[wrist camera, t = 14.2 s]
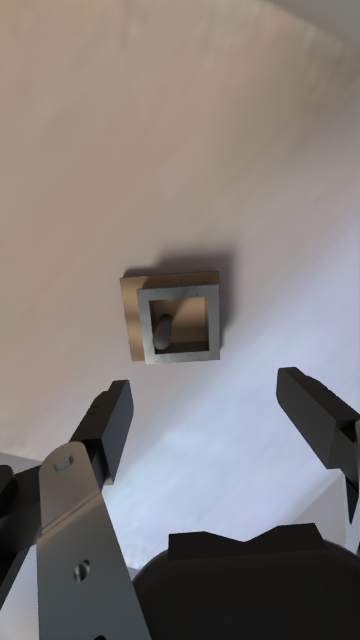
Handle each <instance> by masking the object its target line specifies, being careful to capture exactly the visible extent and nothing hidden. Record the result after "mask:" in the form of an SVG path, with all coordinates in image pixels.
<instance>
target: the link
mask: <svg viewBox="0 0 360 640" xmlns="http://www.w3.org/2000/svg"><path fill="white" fill-rule="evenodd" d="M136 293H137V301H138V309H139V316H140V324H141V331H142V339H143V347H144V354H145V362H146V364H161V363H177V362H192V361H208V360H220V329H219V284H217V283H214V282H208V283H194V284H180V285H166V286H152V287H141V288H139V289H137V290H136ZM193 297H204V304H205V333H206V341H195V342H180V343H169V345H168V346H167V347H166V348H165V349H157V348H156V347H155V346H154V345H153V342H152V339H153V336H154V333H155V331H156V323H155V313H154V304H153V300H164V299H179V298H193Z"/></svg>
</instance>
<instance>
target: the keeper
mask: <svg viewBox="0 0 360 640" xmlns="http://www.w3.org/2000/svg"><path fill="white" fill-rule="evenodd" d="M208 282H214V283H217V284H219V271H208V272H194V273H180V274H165V275H151V276H137V277H123V278H120V285H121V291H122V298H123V305H124V311H125V318H126V325H127V331H128V338H129V344H130V351H131V358H132V361H145V354H144V347H143V339H142V331H141V324H140V316H139V309H138V301H137V293H136V290H137V289H139V288H141V287H152V286H166V285H180V284H194V283H208ZM153 304H154V313H155V323H156V331H155V333H154V336H153V339H152V342H153V345H154V346H155V347H156V348H157V349H165V348H166V347H167V346H168V345H169V343H180V342H195V341H206V333H205V304H204V297H193V298H179V299H164V300H153Z"/></svg>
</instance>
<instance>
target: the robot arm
mask: <svg viewBox="0 0 360 640" xmlns="http://www.w3.org/2000/svg"><path fill="white" fill-rule="evenodd" d="M276 396H277V400H278V403H279V405H280V406H281V408H282V409H283V410H284V412H285V413H286V414H287V416H288V417H289V418H290V420H291V421H292V423H293V424H294V425H295V427H296V428H297V429H298V431H299V432H300V433H301V435H302V436H303V437H304V439H305V440H306V442H307V443H308V444H309V446H310V447H311V448H312V450H313V451H314V452H315V454H316V455H317V457H318V458H319V459H320V461H321V462H322V463H323V465H324V466H325V467H326V469H337V468H340V469H341V471H342V472H343V473H344V475H343V493H344V507H345V521H346V546H345V548H343V547H342V546H340V545H338V544H335V543H333V542H330V541H328V540H325V539H323V538H322V536H321V534H320V533H319V531H318V529H317V527H316V525H315V523H307V524H295V525H281V526H277V527H275V528H273V529H271V530H269V531H267V532H265V533H263V534H261V535H259V536H257V537H255V538H253V539H251V540H249V541H246V542H242V541H238V540H234V539H230V538H227V537H223V536H220V535H216V534H212V533H209V532H205V531H202V532H189V533H176V534H169V543H168V549H167V550H165V551H163V552H161V553H160V554H158V555H157V556H155V557H154V558H153V559H151V560H150V561H149V562H148V563H147V564H146V565H145V566H144V567H143V568H142V569H141V570H140V572H139V573H138V574H137V575H136V576H135V578H134V579H133V581H131V578H130V576H129V572H128V569H127V566H126V563H125V561H124V558H123V555H122V552H121V549H120V546H119V543H118V540H117V537H116V534H115V531H114V528H113V525H112V522H111V519H110V516H109V514H108V511H107V508H106V505H105V502H104V499H103V496H102V493H101V491H102V488H103V485H113V483H114V480H115V476H116V473H117V469H118V466H119V462H120V459H121V455H122V452H123V448H124V445H125V442H126V438H127V435H128V431H129V428H130V424H131V421H132V417H133V410H134V406H133V399H132V394H131V388H130V383H129V380H117V381H113V382H112V384H111V386H110V388H109V389H108V391H103V392H102V393H101V394H100V395H98V396H97V397H96V398H95V399H94V401H93V403H92V404H91V406H90V408H89V409H88V411H87V413H86V415H85V416H84V417H83V419H82V421H81V422H80V424H79V426H78V427H77V429H76V431H75V432H74V434H73V436H72V437H71V439H70V441H69V442H68V443H66V444H63V445H61V446H60V447H58V448H56V449H55V450H54V451H52V452H51V453H50V454H49V455H48V456H47V457H46V458H45V460H44V461H43V463H42V464H41V465H39V466H36V467H34V468H31V469H28V470H25V471H23V472H20V473H17V474H14V472H13V470H12V468H11V467H10V466H8V465H0V610H1V608H2V606H3V604H4V602H5V599H6V597H7V595H8V593H9V591H10V589H11V587H12V585H13V583H14V580H15V578H16V576H17V574H18V572H19V570H20V568H21V566H22V564H23V561H24V559H25V557H26V555H27V553H28V551H29V549H30V547H31V546H33V545H35V544H37V548H36V553H37V584H38V585H37V586H38V616H39V640H360V414H359V413H357V412H356V411H355V410H354V409H353V408H351V407H350V406H349V405H348V404H346V403H345V402H344V401H343V400H342V399H340V398H339V397H338V396H336V395H335V394H334V393H333V392H332V391H331V390H328V388H327V387H326V386H324V385H323V384H322V383H321V382H320V381H318V380H316V379H314V378H312V377H310V376H306V375H305V374H304V373H302V372H301V371H300V370H299V369H298V368H296V367H286V368H279V370H278V376H277V389H276Z"/></svg>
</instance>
